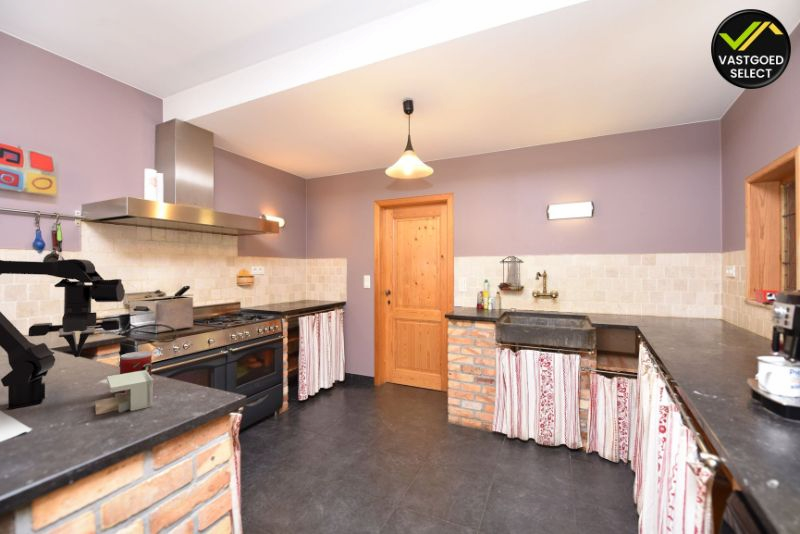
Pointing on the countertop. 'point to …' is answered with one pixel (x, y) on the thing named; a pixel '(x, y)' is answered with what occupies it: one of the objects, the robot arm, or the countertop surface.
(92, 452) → the countertop surface
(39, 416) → the countertop surface
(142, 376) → the pale green angular bracket
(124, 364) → the canned food
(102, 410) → the panel
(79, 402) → the countertop surface
